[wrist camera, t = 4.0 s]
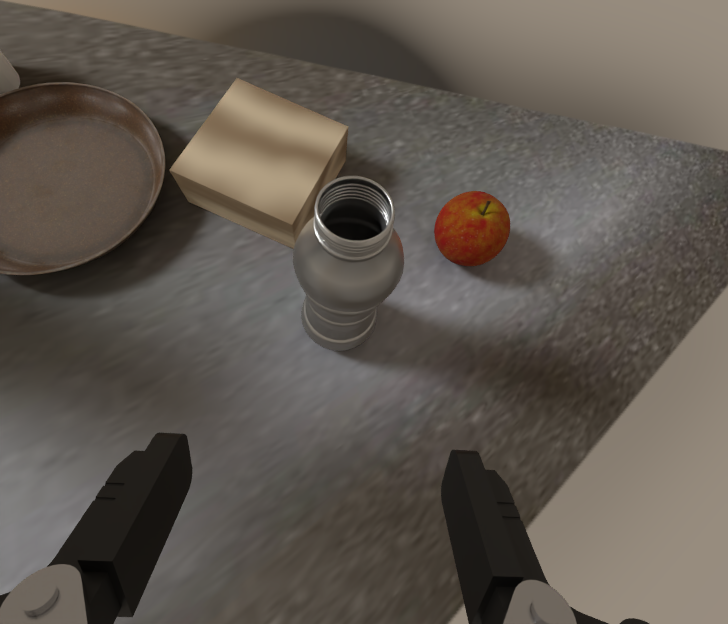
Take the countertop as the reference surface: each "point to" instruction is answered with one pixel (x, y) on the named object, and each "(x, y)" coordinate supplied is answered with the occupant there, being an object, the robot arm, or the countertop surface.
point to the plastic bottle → (347, 261)
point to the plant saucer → (72, 175)
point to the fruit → (472, 228)
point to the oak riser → (261, 162)
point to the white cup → (7, 76)
